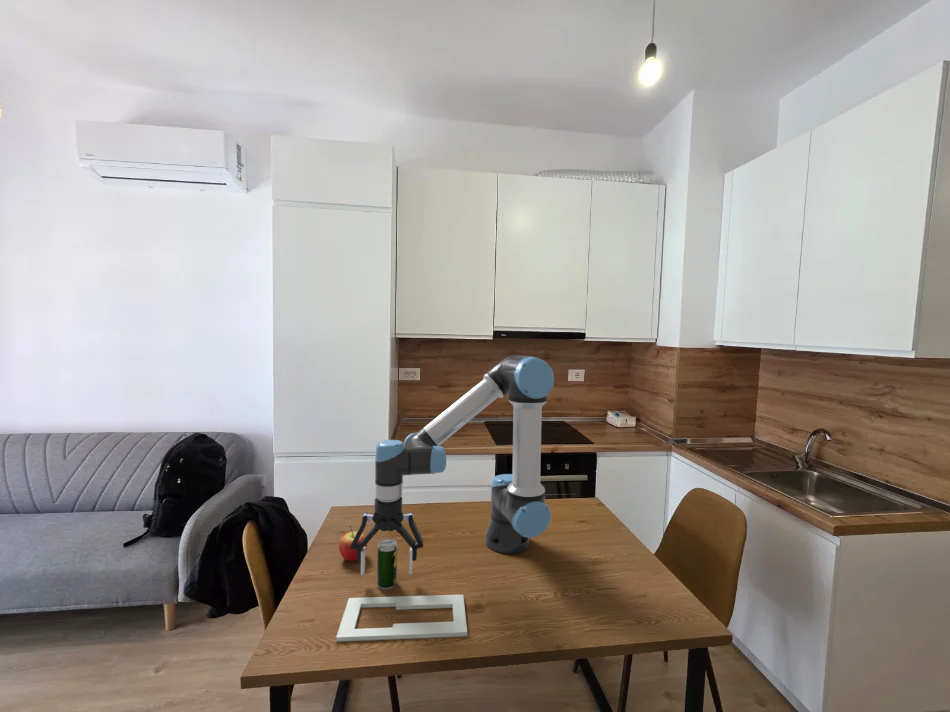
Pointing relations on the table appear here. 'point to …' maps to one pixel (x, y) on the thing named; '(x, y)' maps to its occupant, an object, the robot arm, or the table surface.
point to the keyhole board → (404, 629)
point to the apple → (346, 543)
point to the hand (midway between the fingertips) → (386, 571)
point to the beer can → (387, 564)
